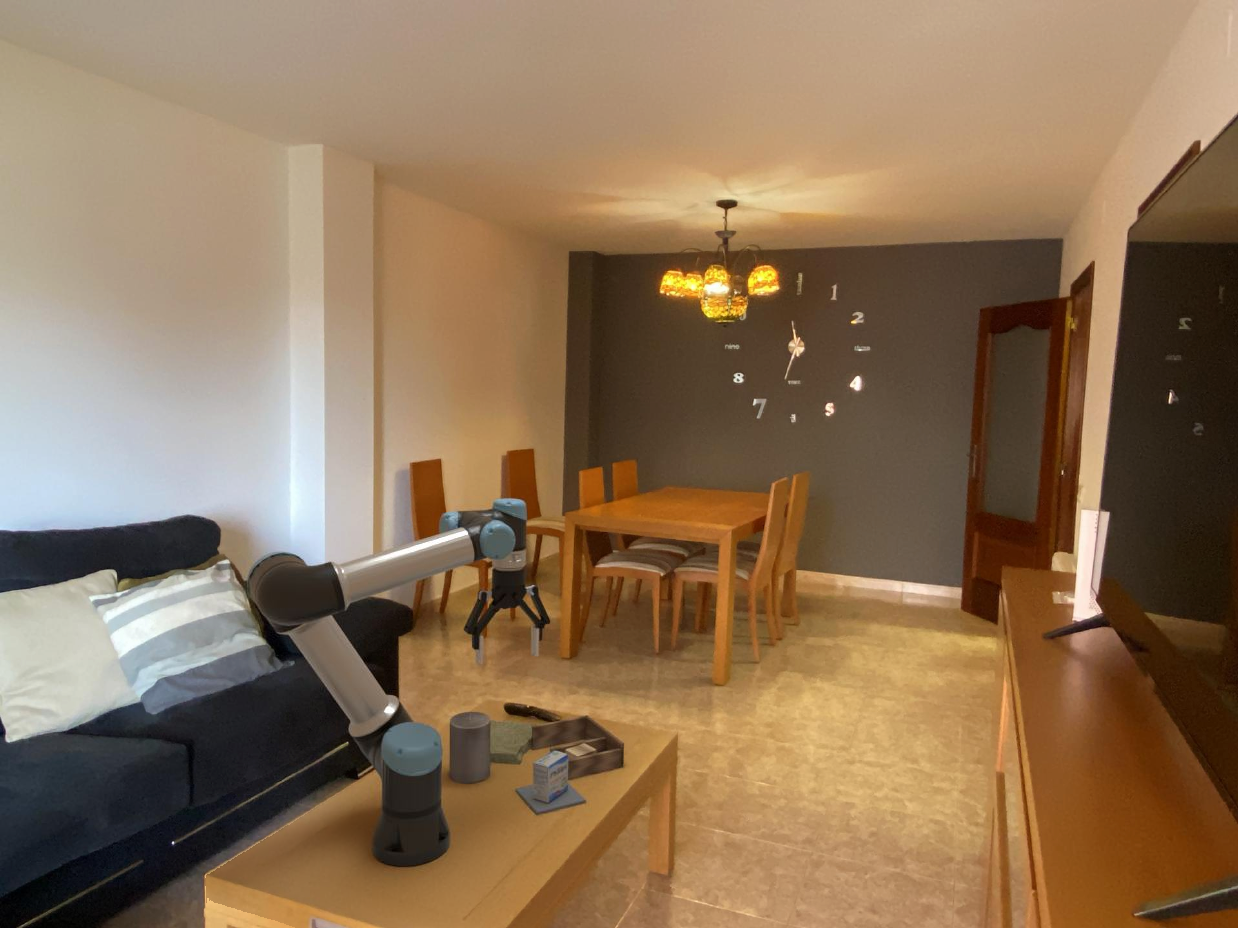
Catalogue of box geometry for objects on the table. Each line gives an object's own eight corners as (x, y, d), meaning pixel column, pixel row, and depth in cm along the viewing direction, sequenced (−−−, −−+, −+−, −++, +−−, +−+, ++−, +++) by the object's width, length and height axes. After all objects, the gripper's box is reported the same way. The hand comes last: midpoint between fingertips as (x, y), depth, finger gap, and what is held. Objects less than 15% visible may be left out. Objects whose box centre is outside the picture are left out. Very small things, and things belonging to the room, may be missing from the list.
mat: (537, 814, 182) (537, 812, 182) (515, 790, 192) (515, 788, 192) (585, 802, 188) (586, 799, 188) (562, 779, 198) (562, 777, 198)
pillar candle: (460, 762, 206) (460, 703, 204) (497, 768, 203) (497, 708, 202) (441, 780, 196) (441, 719, 195) (480, 786, 194) (480, 724, 192)
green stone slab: (450, 761, 207) (451, 748, 207) (473, 729, 227) (473, 716, 227) (524, 767, 205) (525, 753, 205) (541, 734, 225) (541, 721, 225)
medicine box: (548, 804, 185) (549, 766, 185) (532, 798, 188) (532, 761, 187) (568, 789, 192) (569, 753, 191) (552, 784, 194) (553, 748, 194)
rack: (565, 780, 198) (565, 755, 197) (531, 748, 215) (531, 725, 214) (623, 766, 206) (624, 743, 205) (586, 736, 223) (587, 715, 222)
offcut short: (577, 766, 201) (577, 756, 201) (565, 759, 205) (565, 749, 204) (596, 759, 205) (596, 749, 205) (583, 752, 209) (584, 743, 208)
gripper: (461, 575, 179) (460, 671, 181) (565, 565, 192) (563, 655, 194) (450, 568, 186) (449, 661, 188) (551, 559, 198) (549, 646, 200)
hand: (507, 658), depth 191 cm, fingers open, 13 cm apart
